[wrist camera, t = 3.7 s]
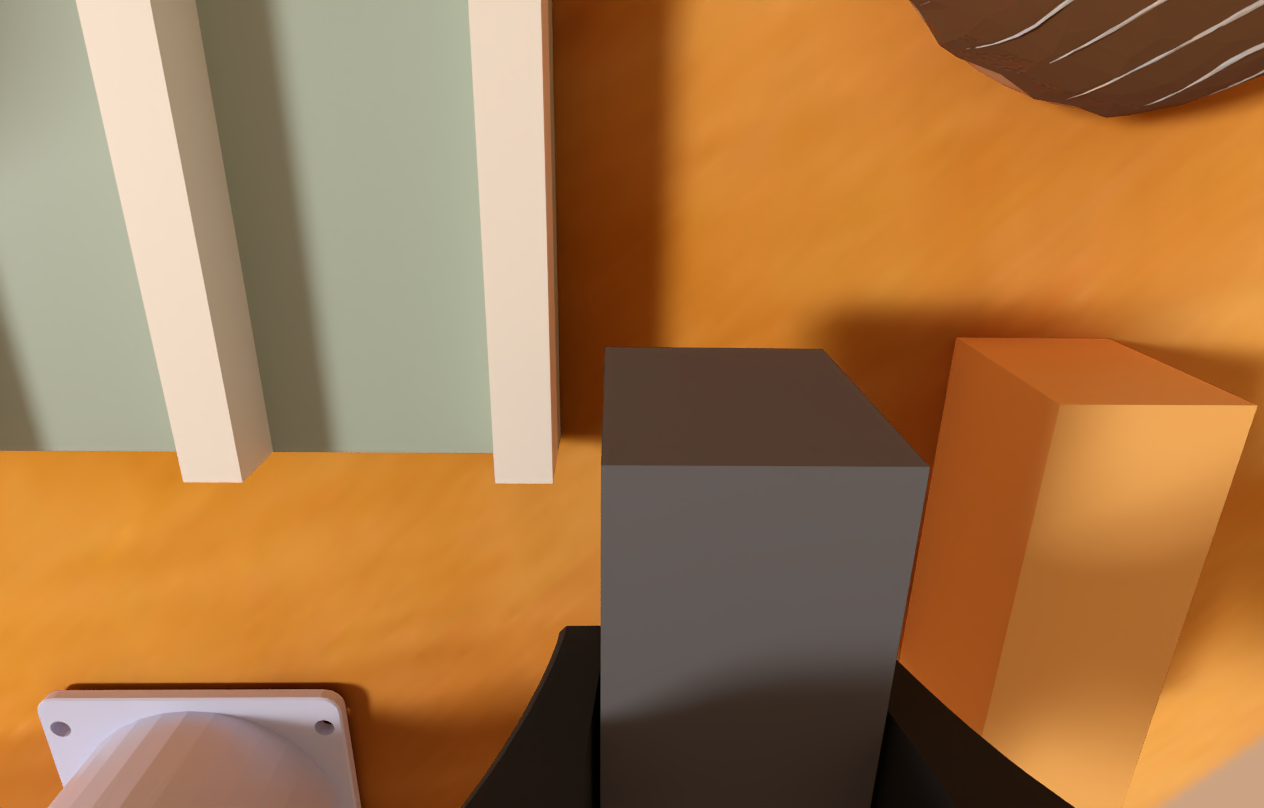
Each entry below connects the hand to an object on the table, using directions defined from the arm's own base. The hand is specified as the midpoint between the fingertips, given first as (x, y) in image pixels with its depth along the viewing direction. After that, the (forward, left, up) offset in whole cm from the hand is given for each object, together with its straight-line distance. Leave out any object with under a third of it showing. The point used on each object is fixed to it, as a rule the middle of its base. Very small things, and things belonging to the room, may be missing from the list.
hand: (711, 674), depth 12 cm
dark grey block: (0, 0, -2) cm, 2 cm away
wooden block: (-1, -8, -7) cm, 11 cm away
